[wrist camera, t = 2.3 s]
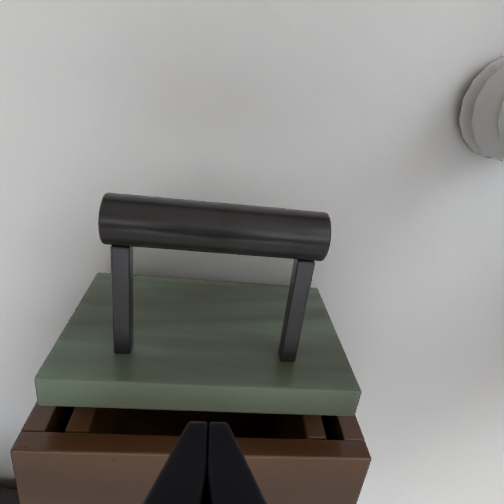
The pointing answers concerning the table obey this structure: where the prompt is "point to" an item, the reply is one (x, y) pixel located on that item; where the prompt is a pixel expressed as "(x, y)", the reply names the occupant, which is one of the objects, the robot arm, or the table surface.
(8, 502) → the leaning round-cornered charcoal block
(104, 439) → the cabinet
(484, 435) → the table surface
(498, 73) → the rook chess piece
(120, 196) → the drawer
